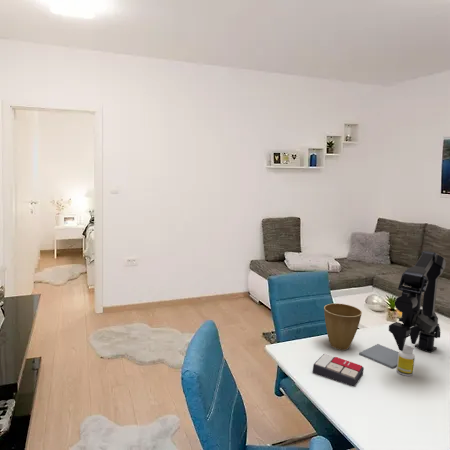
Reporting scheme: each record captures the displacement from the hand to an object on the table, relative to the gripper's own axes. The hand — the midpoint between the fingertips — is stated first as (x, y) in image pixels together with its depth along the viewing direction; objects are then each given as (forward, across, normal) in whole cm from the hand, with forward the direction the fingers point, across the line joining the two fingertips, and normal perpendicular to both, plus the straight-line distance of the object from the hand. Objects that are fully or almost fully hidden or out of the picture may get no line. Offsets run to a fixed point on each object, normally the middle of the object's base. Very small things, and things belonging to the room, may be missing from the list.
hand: (407, 347), depth 141 cm
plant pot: (+10, -1, +27) cm, 29 cm away
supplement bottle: (+10, 0, 0) cm, 10 cm away
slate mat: (+10, +6, +11) cm, 16 cm away
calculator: (+10, -21, +14) cm, 27 cm away
